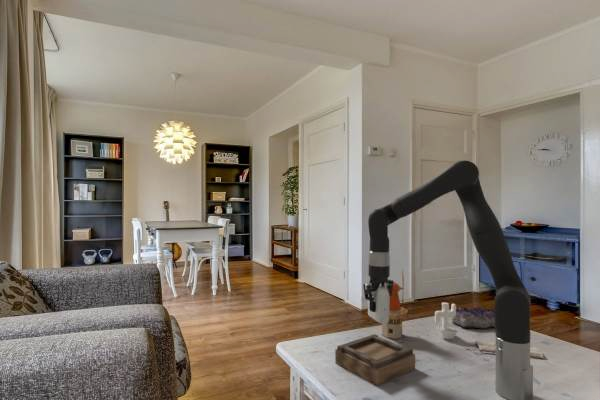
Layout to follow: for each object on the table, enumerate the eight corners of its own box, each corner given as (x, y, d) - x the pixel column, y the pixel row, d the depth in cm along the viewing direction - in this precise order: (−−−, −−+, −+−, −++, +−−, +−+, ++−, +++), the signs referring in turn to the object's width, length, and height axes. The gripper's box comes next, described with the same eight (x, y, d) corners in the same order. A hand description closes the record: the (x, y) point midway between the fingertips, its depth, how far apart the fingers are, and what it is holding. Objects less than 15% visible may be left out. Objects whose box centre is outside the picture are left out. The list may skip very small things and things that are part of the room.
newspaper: (480, 354, 139) (480, 348, 139) (475, 346, 151) (475, 340, 151) (547, 362, 132) (547, 355, 132) (537, 353, 144) (537, 346, 144)
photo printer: (390, 323, 125) (391, 288, 125) (379, 324, 124) (380, 289, 124) (376, 314, 135) (377, 281, 135) (366, 315, 134) (366, 282, 133)
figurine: (431, 334, 159) (431, 300, 159) (450, 333, 160) (450, 300, 160) (439, 340, 152) (439, 305, 152) (460, 339, 153) (460, 304, 153)
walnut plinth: (415, 368, 126) (415, 350, 126) (377, 385, 114) (377, 365, 114) (372, 349, 142) (372, 333, 142) (335, 363, 130) (335, 345, 130)
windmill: (415, 344, 148) (416, 272, 148) (381, 344, 147) (381, 272, 148) (403, 329, 165) (403, 264, 165) (372, 329, 165) (373, 264, 165)
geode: (488, 321, 177) (491, 302, 175) (501, 333, 165) (504, 313, 164) (448, 319, 177) (450, 300, 175) (458, 331, 165) (460, 311, 164)
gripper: (373, 267, 122) (372, 316, 122) (400, 263, 130) (399, 309, 130) (357, 263, 128) (356, 310, 128) (384, 260, 136) (383, 304, 136)
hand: (378, 309), depth 129 cm, fingers closed on photo printer, 5 cm apart
